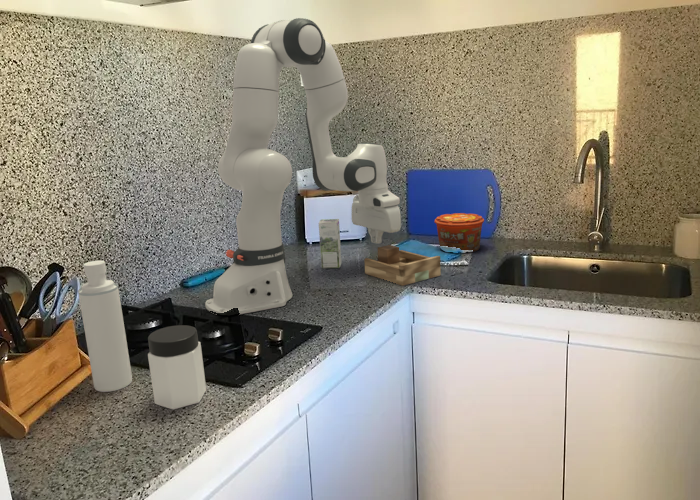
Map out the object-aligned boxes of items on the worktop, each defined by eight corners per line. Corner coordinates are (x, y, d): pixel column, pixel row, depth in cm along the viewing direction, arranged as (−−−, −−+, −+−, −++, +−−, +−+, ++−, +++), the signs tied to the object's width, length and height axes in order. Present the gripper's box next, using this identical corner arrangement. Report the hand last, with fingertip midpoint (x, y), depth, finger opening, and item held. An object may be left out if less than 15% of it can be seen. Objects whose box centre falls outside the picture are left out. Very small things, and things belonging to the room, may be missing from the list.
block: (387, 265, 174) (387, 250, 172) (378, 262, 177) (377, 247, 176) (399, 262, 176) (399, 247, 175) (390, 259, 180) (389, 244, 179)
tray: (402, 285, 162) (401, 266, 160) (365, 273, 175) (364, 255, 174) (440, 275, 169) (440, 256, 168) (402, 264, 183) (401, 246, 182)
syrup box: (341, 263, 188) (339, 218, 184) (339, 268, 182) (336, 221, 179) (323, 264, 188) (320, 218, 185) (321, 269, 183) (318, 222, 179)
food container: (464, 257, 187) (464, 223, 184) (425, 250, 198) (424, 218, 196) (494, 247, 197) (494, 215, 195) (455, 241, 209) (454, 210, 206)
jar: (200, 382, 111) (192, 321, 108) (212, 399, 104) (204, 334, 101) (150, 395, 107) (141, 331, 104) (159, 414, 100) (150, 347, 97)
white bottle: (135, 374, 116) (116, 248, 110) (128, 389, 109) (107, 257, 103) (99, 378, 115) (78, 251, 109) (90, 394, 109) (67, 260, 103)
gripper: (344, 195, 184) (348, 239, 188) (386, 202, 168) (388, 250, 171) (361, 192, 188) (364, 235, 191) (403, 199, 171) (405, 245, 175)
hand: (376, 242), depth 181 cm, fingers closed
